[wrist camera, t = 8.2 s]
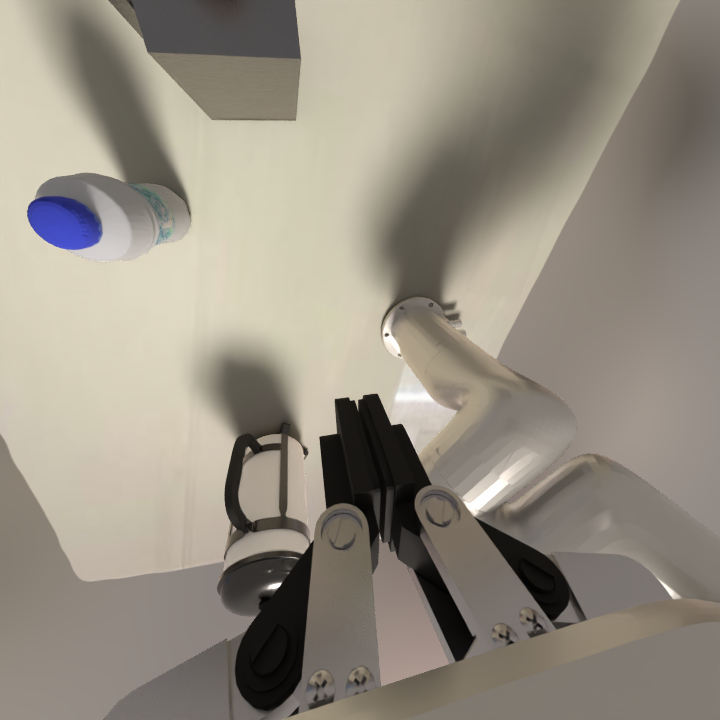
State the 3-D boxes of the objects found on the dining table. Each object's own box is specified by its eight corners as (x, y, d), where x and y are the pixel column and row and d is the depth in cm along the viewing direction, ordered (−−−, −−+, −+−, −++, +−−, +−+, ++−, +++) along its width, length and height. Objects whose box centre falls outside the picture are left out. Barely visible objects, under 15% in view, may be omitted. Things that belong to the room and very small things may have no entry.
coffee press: (323, 427, 59) (349, 595, 34) (292, 474, 64) (294, 650, 39) (243, 405, 52) (200, 599, 27) (215, 460, 57) (157, 666, 32)
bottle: (135, 230, 35) (-7, 259, 18) (135, 172, 32) (-33, 142, 15) (194, 248, 37) (117, 288, 20) (199, 195, 34) (114, 191, 18)
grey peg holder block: (280, -1, 28) (272, -211, 14) (295, 120, 33) (301, 59, 19) (146, -12, 26) (-30, -274, 12) (184, 119, 31) (93, 49, 17)
